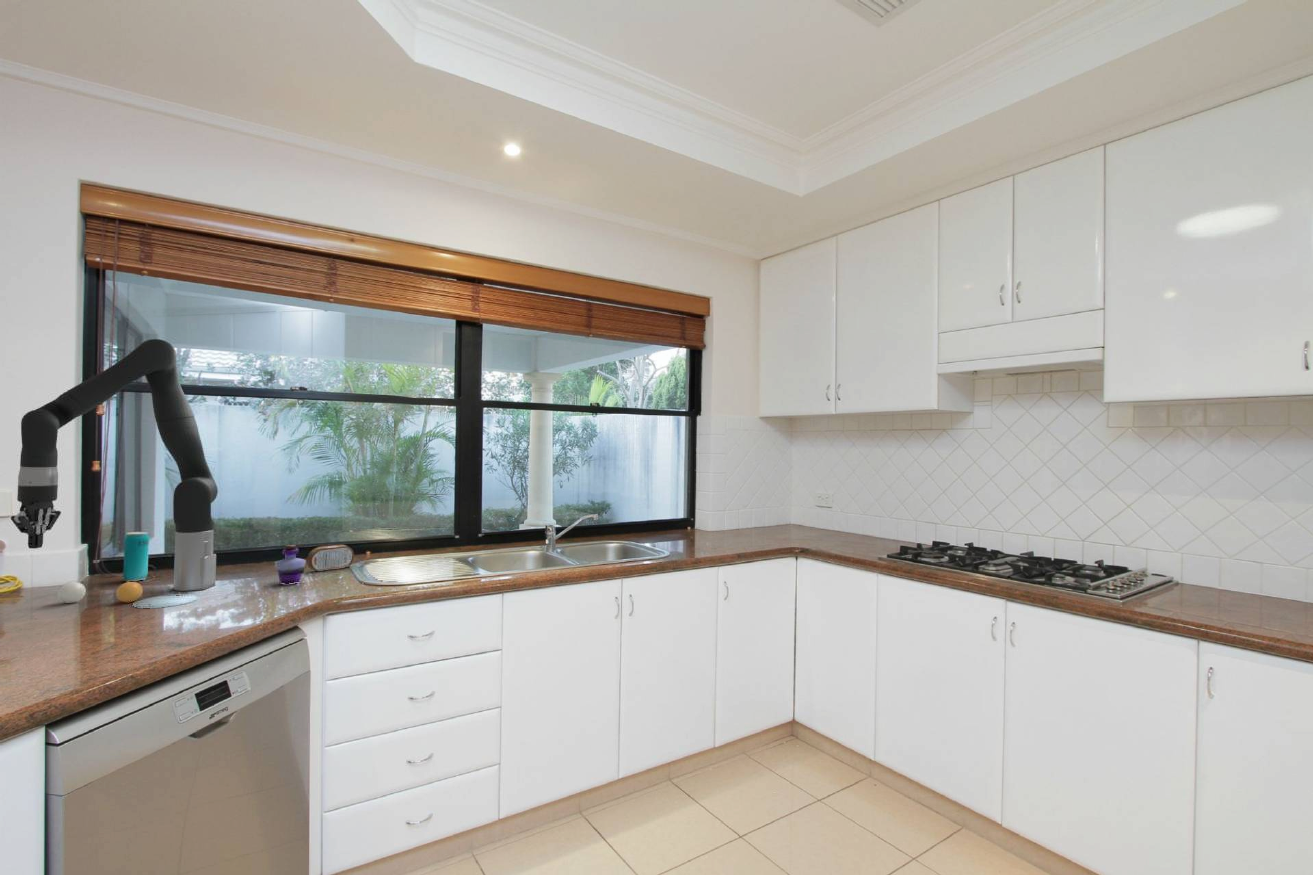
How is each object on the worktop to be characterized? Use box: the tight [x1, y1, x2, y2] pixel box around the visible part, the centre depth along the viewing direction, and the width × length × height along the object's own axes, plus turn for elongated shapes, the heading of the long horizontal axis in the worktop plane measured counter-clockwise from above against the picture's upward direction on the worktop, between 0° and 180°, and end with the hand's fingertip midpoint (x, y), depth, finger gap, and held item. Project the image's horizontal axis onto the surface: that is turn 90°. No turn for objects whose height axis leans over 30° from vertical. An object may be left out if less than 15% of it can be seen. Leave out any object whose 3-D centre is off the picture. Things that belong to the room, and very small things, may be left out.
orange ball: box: [115, 581, 144, 603], centre depth 165 cm, size 6×6×6 cm
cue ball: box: [57, 581, 87, 604], centre depth 163 cm, size 6×6×6 cm
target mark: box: [131, 593, 198, 609], centre depth 167 cm, size 14×14×1 cm
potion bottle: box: [274, 544, 307, 584], centre depth 191 cm, size 9×9×12 cm
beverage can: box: [123, 531, 150, 582], centre depth 189 cm, size 6×6×15 cm
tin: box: [306, 544, 355, 571], centre depth 211 cm, size 15×3×8 cm, turn 141°
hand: (35, 547), depth 162 cm, fingers closed
